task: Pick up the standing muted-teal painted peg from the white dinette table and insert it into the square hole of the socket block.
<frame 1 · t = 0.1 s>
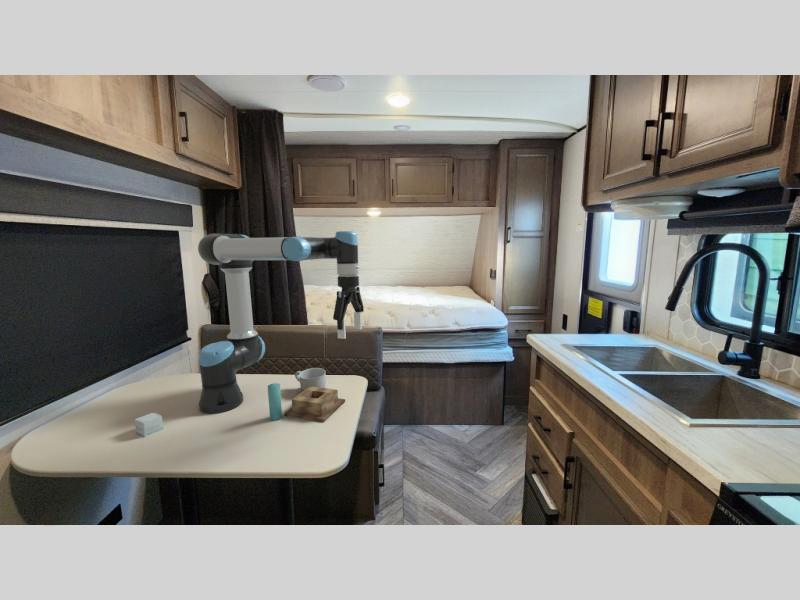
hand: (350, 333, 124), 28 cm above the table, fingers open, 13 cm apart
peg: (276, 417, 120), on the table
small box: (150, 431, 113), on the table
teacup: (310, 390, 143), on the table
socket: (316, 408, 127), on the table
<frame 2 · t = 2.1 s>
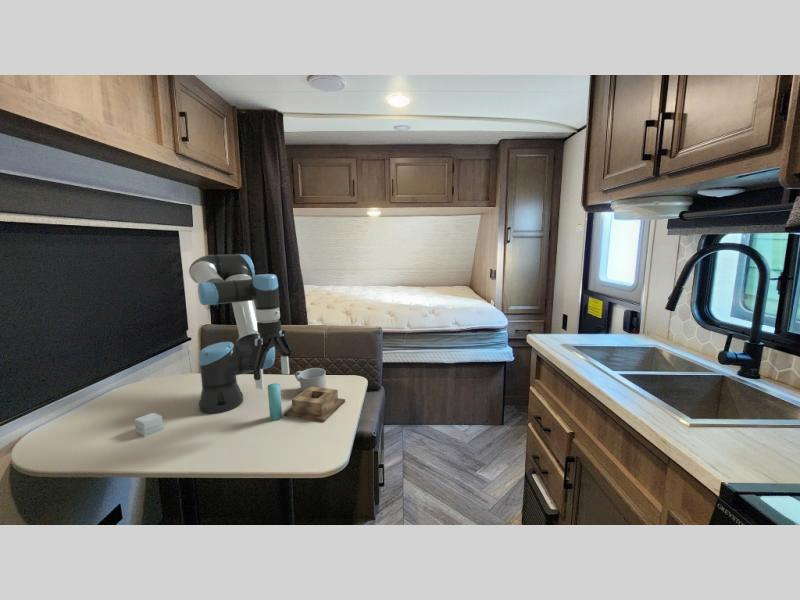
hand: (273, 380, 118), 14 cm above the table, fingers open, 13 cm apart
nothing on the table moved.
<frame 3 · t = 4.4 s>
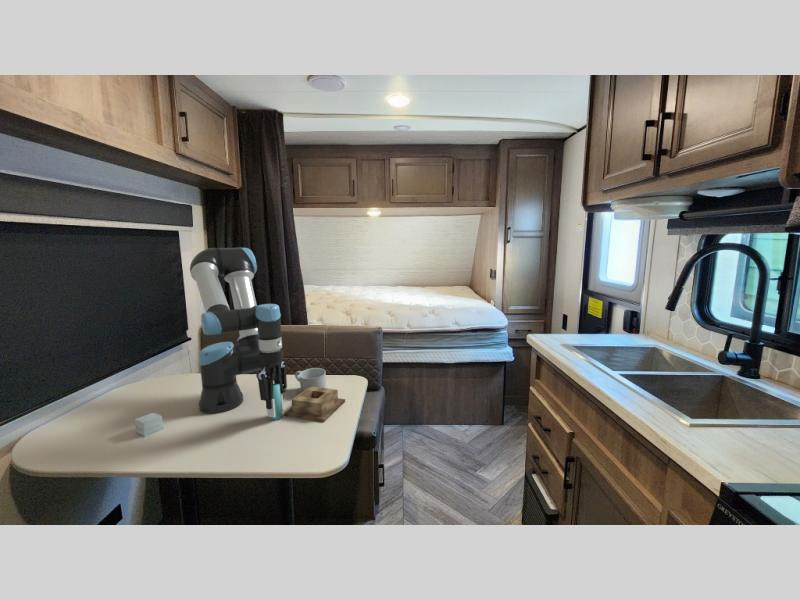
hand: (275, 413, 120), 2 cm above the table, fingers closed on peg, 4 cm apart
peg: (276, 417, 120), on the table, touching gripper
everything else where it was.
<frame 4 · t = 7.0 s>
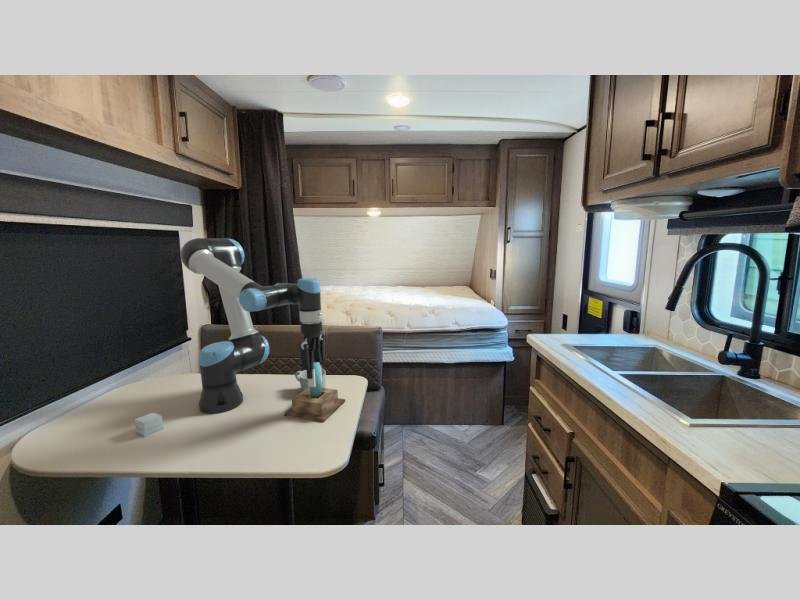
hand: (315, 383, 125), 10 cm above the table, fingers closed on peg, 4 cm apart
peg: (315, 394, 126), point 6 cm above the table, touching gripper
everything else where it was.
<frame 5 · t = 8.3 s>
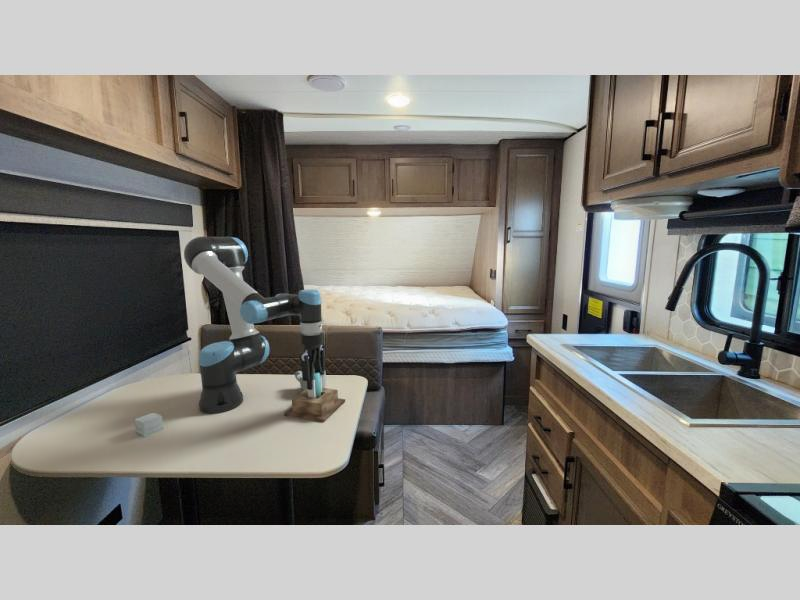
hand: (315, 394, 126), 6 cm above the table, fingers closed on peg, 4 cm apart
peg: (316, 405, 126), point 1 cm above the table, touching gripper
everything else where it was.
when the fingers open (6 cm above the table, at t = 9.6 s): peg stays where it is, resting on socket.
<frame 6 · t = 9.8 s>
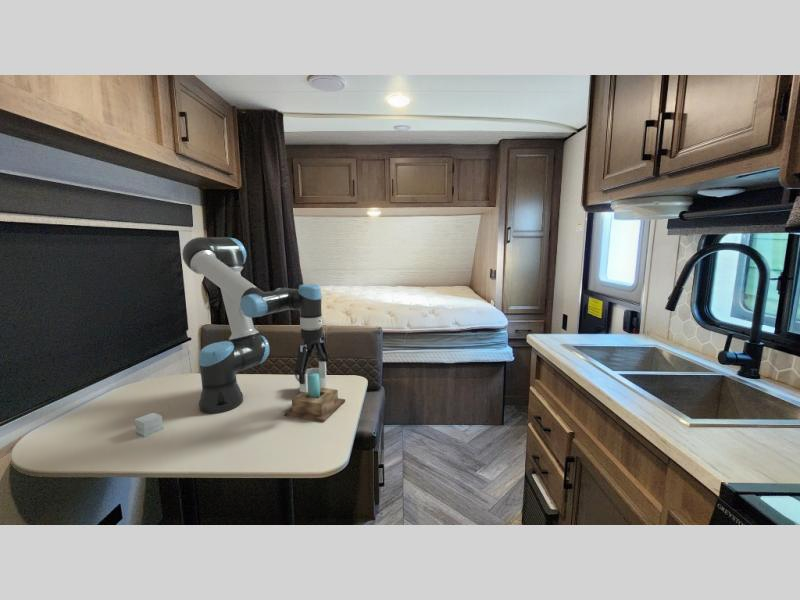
hand: (313, 384, 125), 9 cm above the table, fingers open, 12 cm apart
peg: (315, 406, 126), point 1 cm above the table, touching socket
everything else where it was.
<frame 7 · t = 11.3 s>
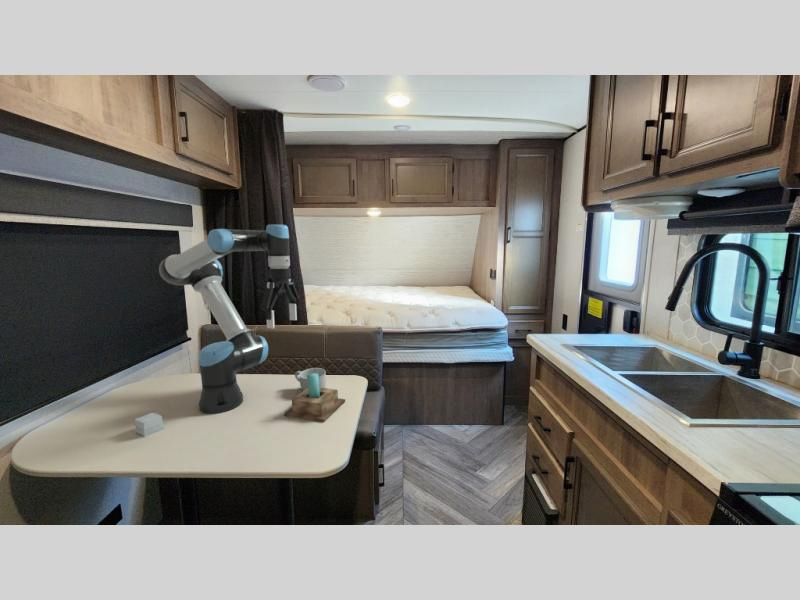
hand: (282, 323, 129), 31 cm above the table, fingers open, 13 cm apart
nothing on the table moved.
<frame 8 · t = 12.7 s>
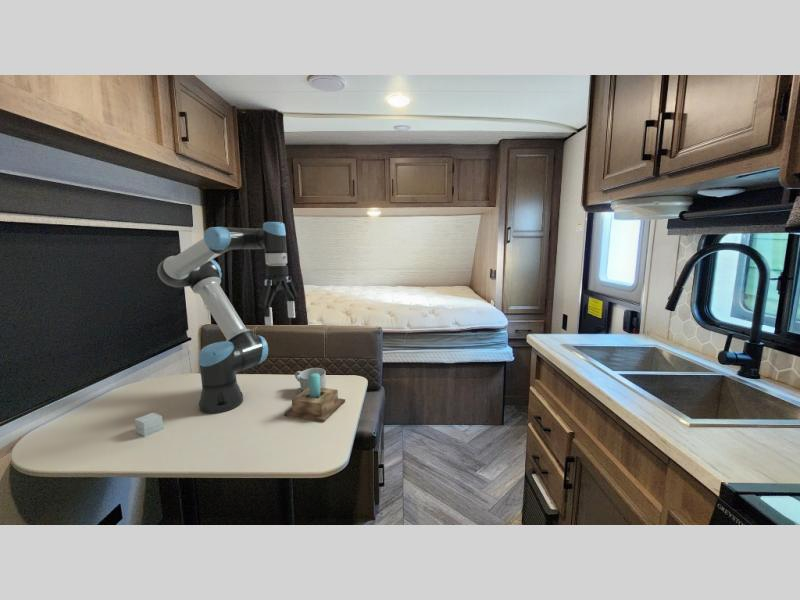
hand: (281, 321, 129), 32 cm above the table, fingers open, 13 cm apart
nothing on the table moved.
at the end: peg 0.3 cm off-centre on the socket, point 1.0 cm above the socket's base; peg tilted 1°; the gripper is holding nothing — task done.
